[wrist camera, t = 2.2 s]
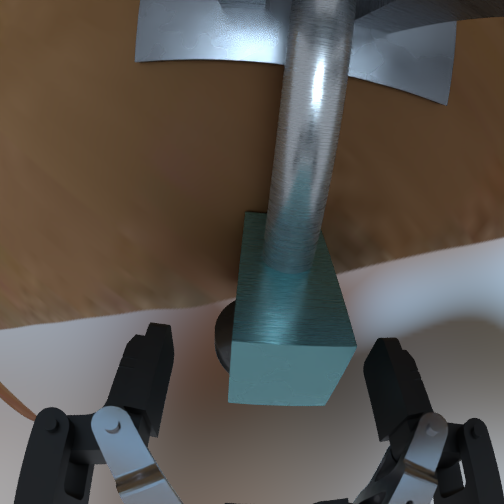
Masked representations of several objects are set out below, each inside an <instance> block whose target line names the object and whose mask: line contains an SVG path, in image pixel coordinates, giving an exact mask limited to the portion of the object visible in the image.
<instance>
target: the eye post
mask: <svg viewBox="0 0 504 504" xmlns="http://www.w3.org/2000/svg"><path fill="white" fill-rule="evenodd" d="M291 2H292V0H140V7H139V16H138V26H137V37H136V50H135V62H153V61H172V60H224V61H243V62H256V63H267V64H277V65H285V58H286V49H287V40H288V30H289V21H290V11H291ZM488 17H504V0H356V9H355V20H354V30H353V40H352V49H351V57H350V65H349V73H348V77H353V78H357V79H361V80H365V81H369V82H373V83H377V84H380V85H384V86H388V87H391V88H394V89H398V90H401V91H404V92H407V93H410V94H413V95H416V96H419V97H422V98H425V99H428V100H431V101H433V102H436V103H439V104H442V105H446V106H447V103H448V97H449V91H450V84H451V77H452V69H453V61H454V51H455V39H456V22H457V21H459V20H467V19H476V18H488Z"/></svg>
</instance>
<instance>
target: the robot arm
mask: <svg viewBox="0 0 504 504" xmlns="http://www.w3.org/2000/svg"><path fill="white" fill-rule="evenodd" d="M173 362H174V346H173V339H172V332H171V326H170V325H166V324H158V323H150V324H149V327H148V329H147V332H146V335H145V336H142V335H137V334H136V335H135V336H134V337H133V338H132V339H131V340H130V341H129V342H128V343H127V345H126V348H125V351H124V354H123V358H122V359H121V362H120V364H119V367H118V370H117V373H116V376H115V378H114V381H113V384H112V387H111V390H110V393H109V396H108V399H107V402H106V403H105V405H104V406H103V407H102V408H101V409H99V410H98V411H97V412H95V413H93V414H89V415H66V414H65V413H64V412H63V411H61V410H60V409H58V408H54V407H50V408H45V409H43V410H42V411H41V412H39V414H38V415H37V416H36V419H35V422H34V425H33V428H32V431H31V434H30V438H29V441H28V445H27V448H26V452H25V456H24V460H23V463H22V468H21V471H20V477H19V480H18V485H17V490H16V495H15V500H14V504H88V501H89V495H90V488H91V482H92V476H93V470H94V464H107V465H108V467H109V469H110V471H111V473H112V475H113V477H114V479H115V481H116V488H117V491H118V493H119V495H120V497H121V499H122V501H123V502H124V504H183V502H182V501H181V500H180V498H179V497H178V495H177V494H176V492H175V491H174V489H173V488H172V487H171V485H170V484H169V482H168V481H167V479H166V477H165V476H164V475H163V473H162V471H161V470H160V468H159V466H158V465H157V463H156V461H155V460H154V458H153V456H152V455H151V453H150V451H149V449H148V448H147V447H148V442H149V437H150V436H152V437H158V433H159V428H160V423H161V418H162V413H163V408H164V404H165V399H166V394H167V390H168V385H169V381H170V376H171V372H172V367H173ZM363 369H364V370H363V372H364V377H365V381H366V385H367V389H368V393H369V397H370V401H371V405H372V409H373V414H374V418H375V422H376V426H377V431H378V436H379V441H380V442H382V441H388V440H389V441H390V446H389V447H388V449H387V450H386V453H385V455H384V457H383V458H382V461H381V462H380V464H379V466H378V468H377V470H376V472H375V473H374V475H373V477H372V479H371V480H370V482H369V484H368V485H367V486H366V487H365V488H364V489H363V490H362V491H361V492H360V494H359V495H358V496H357V498H356V499H355V501H354V502H353V503H348V498H345V499H337V500H330V501H321V502H317V503H314V504H430V502H431V500H432V498H433V499H434V504H504V496H503V490H502V485H501V480H500V475H499V471H498V467H497V462H496V459H495V454H494V451H493V447H492V444H491V440H490V437H489V433H488V430H487V427H486V425H485V424H484V422H483V421H481V420H480V419H477V418H472V419H469V420H468V421H467V422H466V423H464V424H454V423H447V422H446V420H445V419H444V418H443V417H442V416H441V415H440V414H438V413H434V412H433V409H432V407H431V404H430V401H429V398H428V395H427V392H426V390H425V387H424V384H423V382H422V380H421V376H420V374H419V372H418V368H417V366H416V363H415V361H414V359H413V358H412V356H411V355H410V354H409V353H408V352H407V350H402V348H401V345H400V343H399V340H398V339H397V338H378V339H377V341H376V342H375V344H374V346H373V348H372V349H371V351H370V353H369V355H368V357H367V358H366V360H365V362H364V368H363ZM461 460H462V464H463V469H464V474H465V479H466V485H465V487H464V485H463V481H462V475H461V470H460V465H459V461H461ZM225 504H234V503H225Z"/></svg>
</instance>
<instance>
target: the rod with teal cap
mask: <svg viewBox="0 0 504 504" xmlns="http://www.w3.org/2000/svg"><path fill="white" fill-rule="evenodd" d="M355 9H356V0H292V2H291V11H290V21H289V30H288V40H287V49H286V58H285V67H284V76H283V85H282V94H281V103H280V111H279V120H278V129H277V137H276V146H275V154H274V162H273V171H272V179H271V187H270V195H269V203H268V211H267V214H265V213H254V212H245V219H244V229H243V238H242V247H241V256H240V266H239V275H238V285H237V295H236V300H235V301H233V302H232V303H230V304H229V305H228V306H227V307H225V309H223V311H222V312H221V314H220V315H219V317H218V319H217V321H216V325H215V351H216V354H217V357H218V359H219V361H220V363H221V364H222V366H223V367H224V369H225V370H226V371H227V372H228V373H229V374H230V379H229V394H228V402H229V403H241V404H257V405H280V406H284V405H285V406H324V405H325V404H326V402H327V401H328V399H329V397H330V396H331V394H332V392H333V391H334V389H335V387H336V385H337V384H338V382H339V380H340V378H341V376H342V375H343V373H344V371H345V369H346V367H347V365H348V363H349V361H350V360H351V358H352V356H353V354H354V352H355V350H356V348H357V344H356V341H355V337H354V333H353V330H352V327H351V323H350V319H349V316H348V313H347V309H346V306H345V302H344V299H343V296H342V292H341V289H340V286H339V283H338V279H337V276H336V273H335V270H334V267H333V264H332V261H331V258H330V255H329V252H328V249H327V246H326V243H325V240H324V237H323V234H322V231H321V225H322V220H323V215H324V211H325V206H326V201H327V196H328V192H329V187H330V182H331V176H332V171H333V166H334V161H335V155H336V150H337V144H338V138H339V132H340V126H341V120H342V114H343V108H344V101H345V94H346V87H347V80H348V73H349V65H350V57H351V49H352V40H353V30H354V20H355Z"/></svg>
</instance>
